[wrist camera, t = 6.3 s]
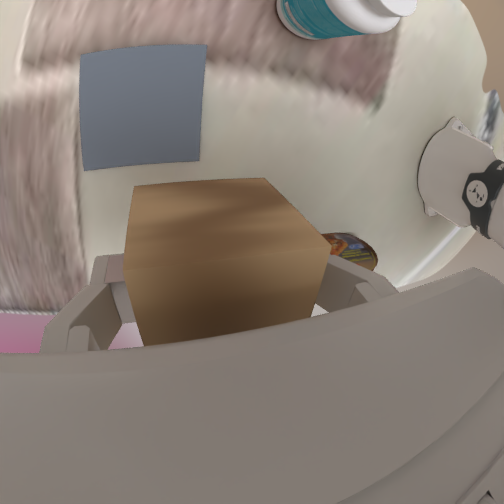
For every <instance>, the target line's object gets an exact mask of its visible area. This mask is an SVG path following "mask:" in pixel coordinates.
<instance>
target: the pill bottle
mask: <svg viewBox="0 0 504 504" xmlns="http://www.w3.org/2000/svg"><path fill="white" fill-rule="evenodd" d="M416 5H417V0H277V12H278V15H279V17H280V19H281V21H282V22H283V24H284V25H285V26H286V27H287V28H288V29H289V30H290V31H291V32H293V33H294V34H296V35H298V36H300V37H303V38H306V39H311V40H320V39H327V38H334V37H343V36H352V35H364V34H378V33H384V32H387V31H389V30H391V29H392V28H393V27H394V26H395V25H396V24H397V23H398V21H399V19H400V17H405V16H409V15H411V14H412V13H413V12H414V11H415V9H416Z"/></svg>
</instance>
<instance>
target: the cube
mask: <svg viewBox="0 0 504 504" xmlns="http://www.w3.org/2000/svg"><path fill="white" fill-rule="evenodd" d="M331 247H332V246H331V245H330V243H329V242H328V241H327V240H326V239H325V238H324V237H323V236H322V235H321V234H320V233H319V232H318V231H317V230H316V229H315V228H314V227H313V226H312V225H311V224H310V223H309V222H308V221H307V220H306V219H305V218H304V217H303V216H302V215H301V214H300V213H299V212H298V210H297V209H296V208H295V207H294V206H293V205H291V204H290V203H289V202H288V201H287V200H286V199H285V198H284V197H283V196H282V195H281V194H280V193H279V192H278V191H277V190H276V189H275V188H274V187H273V186H272V185H271V184H270V183H269V182H268V181H267V180H266V179H265V178H242V179H218V180H201V181H186V182H173V183H162V184H151V185H142V186H134V190H133V196H132V201H131V207H130V214H129V220H128V227H127V235H126V243H125V251H124V261H123V274H124V279H125V283H126V287H127V290H128V294H129V298H130V302H131V305H132V309H133V312H134V316H135V319H136V323H137V326H138V329H139V332H140V335H141V339H142V341H143V344H144V346H152V345H160V344H168V343H175V342H183V341H190V340H196V339H203V338H209V337H215V336H221V335H227V334H232V333H238V332H243V331H248V330H254V329H259V328H264V327H268V326H273V325H278V324H283V323H287V322H292V321H296V320H300V319H305V318H309V317H311V314H312V311H313V308H314V305H315V302H316V298H317V295H318V292H319V289H320V285H321V282H322V279H323V275H324V272H325V269H326V265H327V262H328V258H329V254H330V251H331Z"/></svg>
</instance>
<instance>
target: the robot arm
mask: <svg viewBox="0 0 504 504" xmlns="http://www.w3.org/2000/svg"><path fill="white" fill-rule="evenodd" d="M493 149H494V148H493V146H491V145H490V144H489V143H487V142H485V141H484V142H483V141H481V140H479V139H477V138H476V137H475V136H474V135H473V134H472V133H471V132H470V131H469V129H468V128H467V127H466V126H465V125H464V124H463V123H462V122H461V121H460V120H459V119H457V118H455V117H453V118H452V119H451V120H450V121H449V123H448V124H447V126H446V127H445V128H444V129H442V130H440V131H439V132H438V133H436V134H435V135H434V136H433V138H432V139H431V140H430V142H429V143H428V145H427V147H426V149H425V151H424V154H423V156H422V159H421V163H420V167H419V173H418V187H419V192H420V195H421V197H422V199H423V201H424V203H425V213H426V214H427V215H428V216H435V215H438V214H440V215H442V216H443V217H445V218H446V219H448V220H449V221H451V222H452V223H454V224H455V225H457V226H458V227H460V228H463V227H467V226H470V225H472V227H473V228H474V229H475V230H477V231H478V232H479V233H480V234H481V235H482V236H485V237H486V238H487V239H493V240H494V241H495V242H496V243H497V244H498V245H500V246H501V247H502V248H503V249H504V162H503V161H501V160H497V158H496V157H495V155H494V153H493ZM123 261H124V253H123V254H113V255H103V256H97V257H96V258H95V262H94V266H93V271H92V275H91V280H90V285H87V286H85V287H84V288H83V289H82V290H81V291H80V292H79V293H78V294H77V295H76V296H75V297H74V298H73V299H72V300H71V301H70V302H69V303H68V304H67V305H66V306H65V307H64V308H63V309H62V310H61V311H60V312H59V313H58V314H57V315H56V316H55V317H54V318H53V319H52V320H51V321H50V322H49V323H48V324H47V325H46V326H45V329H44V333H43V338H42V342H41V347H40V352H39V353H0V504H504V284H503V283H501V282H500V281H499V280H498V279H496V278H495V277H493V276H491V275H490V274H488V273H486V272H484V271H482V270H480V269H477V268H469V269H466V270H463V271H461V272H458V273H456V274H453V275H450V276H448V277H445V278H442V279H439V280H436V281H434V282H430V283H427V284H424V285H422V286H419V287H415V288H413V289H410V290H406V291H404V292H400V293H399V292H398V291H397V290H396V288H395V287H394V286H393V285H392V284H391V283H390V282H389V281H388V280H387V279H386V278H385V277H384V276H382V275H380V274H377V273H375V272H373V271H371V270H368V269H366V268H364V267H362V266H359V265H357V264H355V263H352V262H350V261H348V260H345V259H343V258H341V257H339V256H336V255H331V254H329V258H328V262H327V265H326V269H325V272H324V275H323V279H322V282H321V285H320V289H319V292H318V295H317V298H316V302H315V303H316V304H317V305H319V306H320V307H322V308H323V309H325V310H326V311H328V312H329V313H326V314H322V315H317V316H313V317H309V318H305V319H300V320H296V321H292V322H287V323H283V324H278V325H273V326H268V327H264V328H259V329H254V330H248V331H243V332H238V333H232V334H227V335H221V336H215V337H209V338H203V339H196V340H190V341H183V342H175V343H168V344H160V345H152V346H143V347H133V348H124V349H113V350H107V349H108V347H109V346H110V344H111V342H112V341H113V339H114V337H115V336H116V334H117V333H118V331H119V329H120V327H121V326H122V324H123V323H131V322H136V319H135V316H134V312H133V309H132V305H131V302H130V298H129V294H128V290H127V287H126V283H125V279H124V274H123Z"/></svg>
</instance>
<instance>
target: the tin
mask: <svg viewBox="0 0 504 504" xmlns="http://www.w3.org/2000/svg"><path fill="white" fill-rule="evenodd" d="M321 235H322V236H323V237H324V238H325V239H326V240H327V241H328V242H329V243H330V245H331V246H332V247H331V251H330V254H331V255H336V256H339V257H341V258H343V259H345V260H348V261H350V262H352V263H355V264H357V265H359V266H362V267H364V268H366V269H368V270H371V271H373V270H374V268H375V267H376V265H377V263H378V258H377V255H376V253H375V251H374V250H373V248H372V247H371V246H370V245H368V244H367V243H366V242H364V241H363V240H361V239H359V238H357V237H355V236H352V235H349V234H344V233H330V234H321Z"/></svg>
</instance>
